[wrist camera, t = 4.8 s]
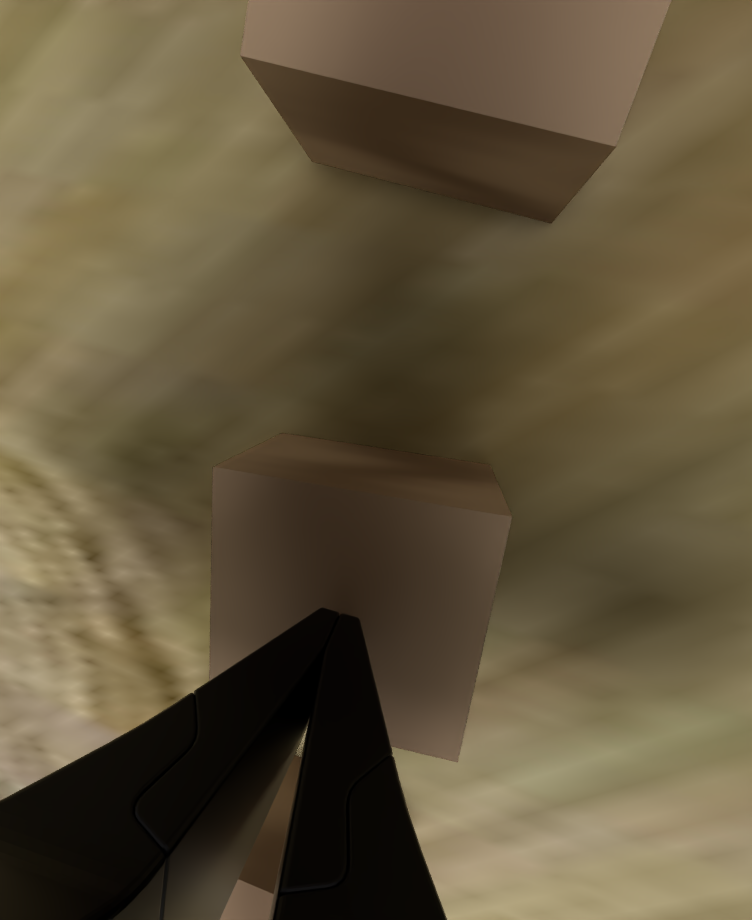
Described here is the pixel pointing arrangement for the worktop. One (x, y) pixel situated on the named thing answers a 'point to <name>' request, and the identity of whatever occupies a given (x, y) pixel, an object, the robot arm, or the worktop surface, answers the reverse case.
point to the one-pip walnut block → (457, 89)
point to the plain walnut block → (363, 568)
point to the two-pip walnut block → (264, 858)
